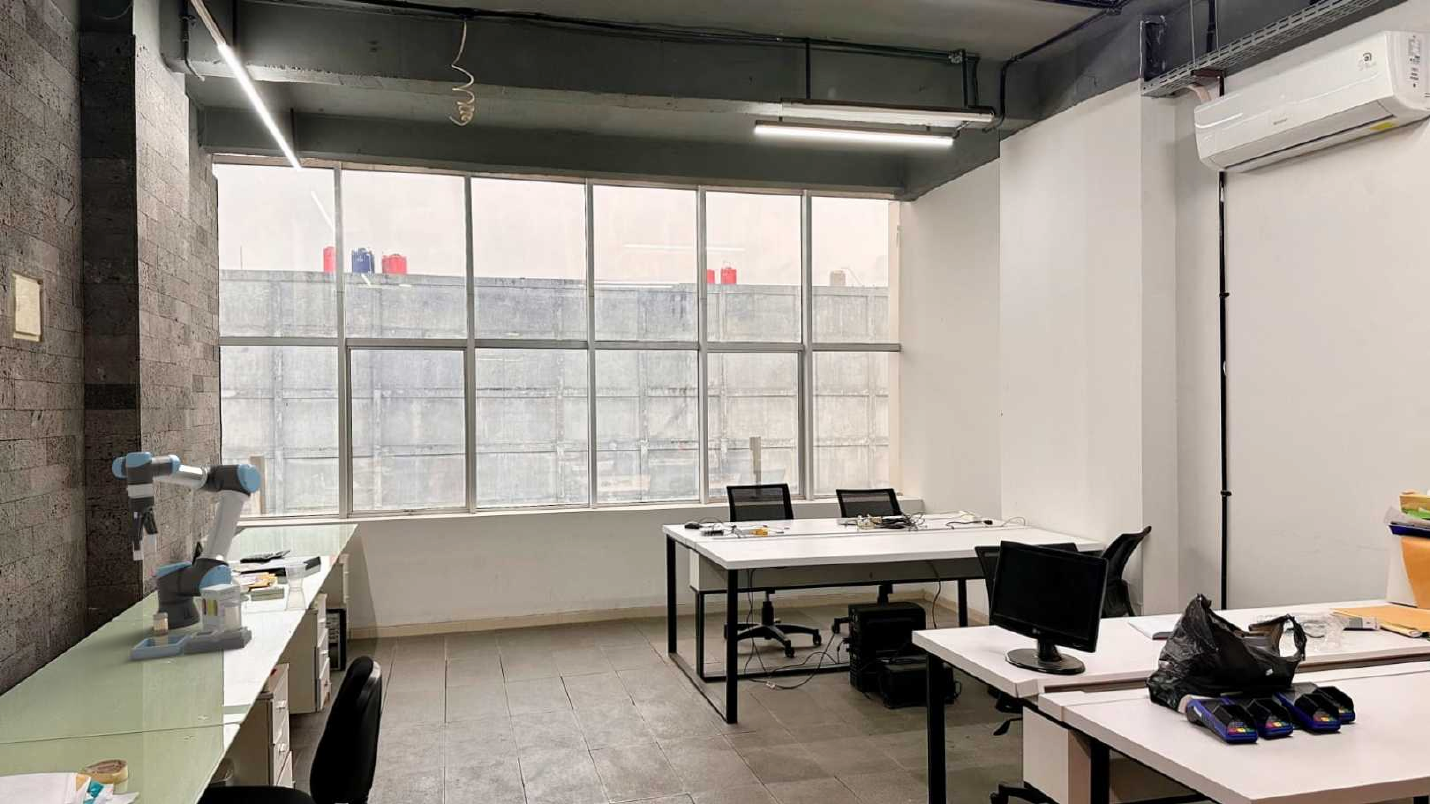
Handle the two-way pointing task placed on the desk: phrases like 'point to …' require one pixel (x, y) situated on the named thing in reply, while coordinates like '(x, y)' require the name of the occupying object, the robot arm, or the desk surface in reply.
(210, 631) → the fuse holder
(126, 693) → the desk surface
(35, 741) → the desk surface
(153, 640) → the parts tray
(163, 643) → the fuse
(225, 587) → the supplement box
